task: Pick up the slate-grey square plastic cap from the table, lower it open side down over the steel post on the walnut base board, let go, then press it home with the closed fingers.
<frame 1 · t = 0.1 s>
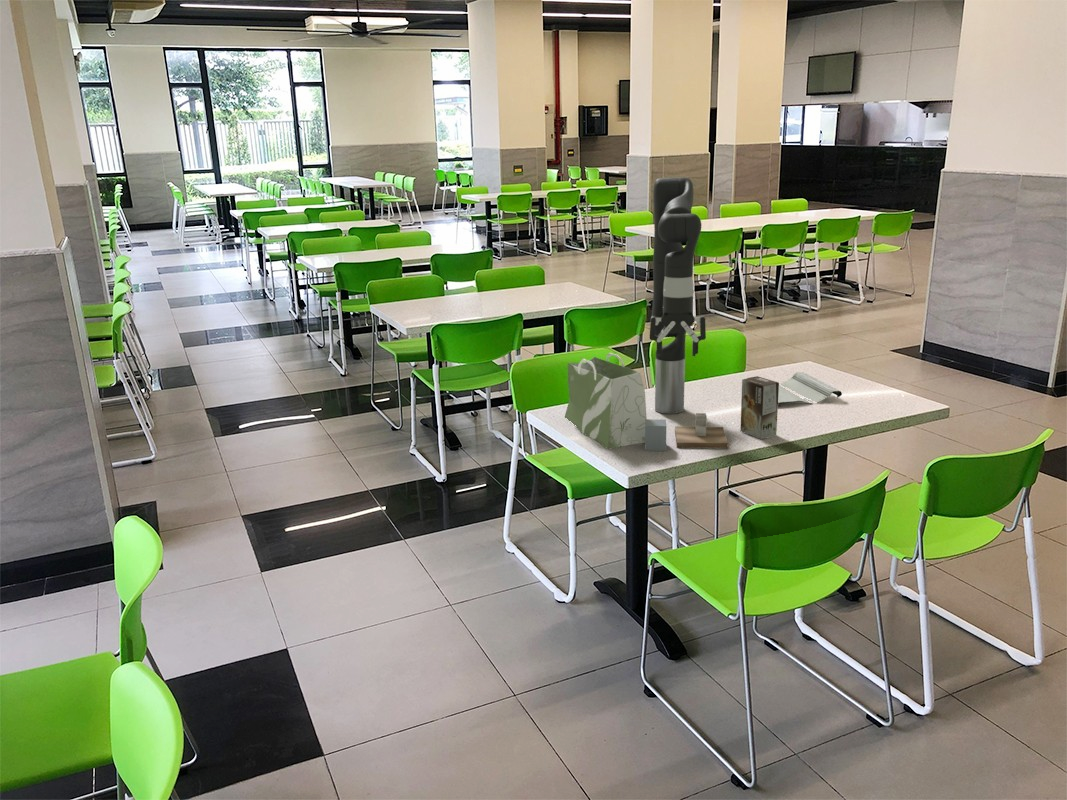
hand: (677, 355, 213), 29 cm above the table, tool pointing down, fingers open, 8 cm apart
coffee box: (758, 434, 240), on the table
mat: (790, 396, 276), on the table
post stand: (700, 439, 237), on the table
grocery bag: (602, 430, 248), on the table
cap: (655, 447, 232), on the table
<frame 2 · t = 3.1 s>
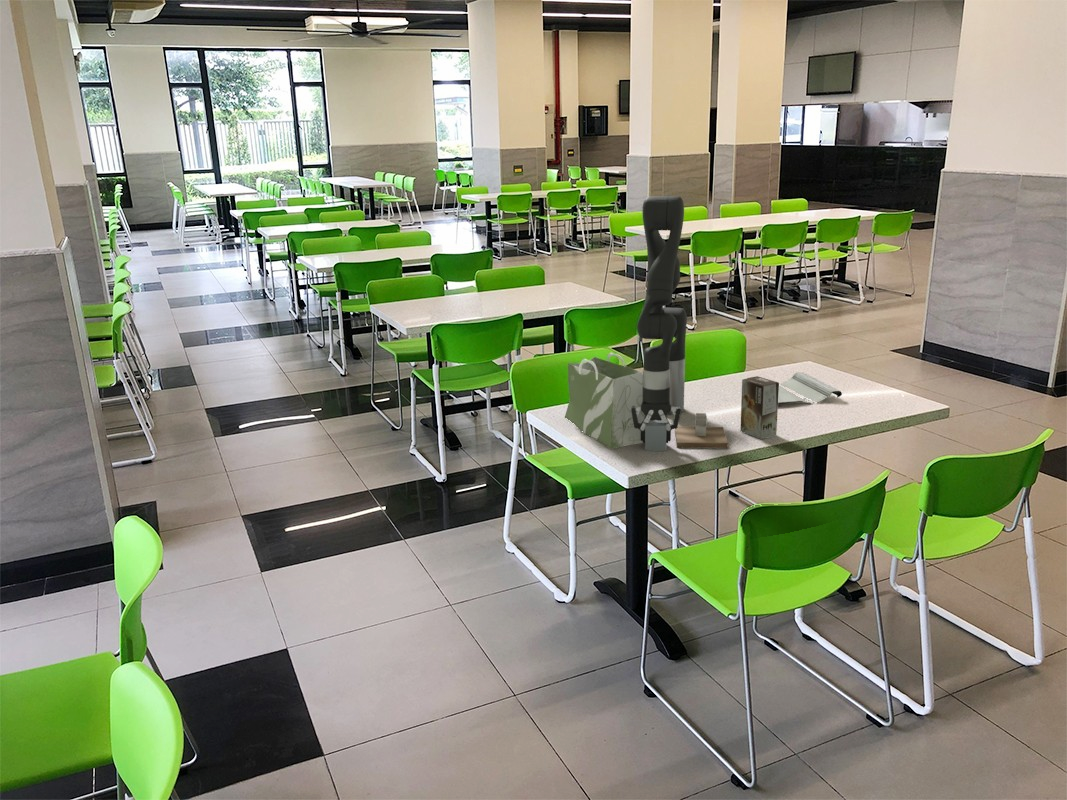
hand: (655, 441, 231), 2 cm above the table, tool pointing down, fingers closed on cap, 5 cm apart
cap: (655, 447, 232), on the table, touching gripper
everything else where it was.
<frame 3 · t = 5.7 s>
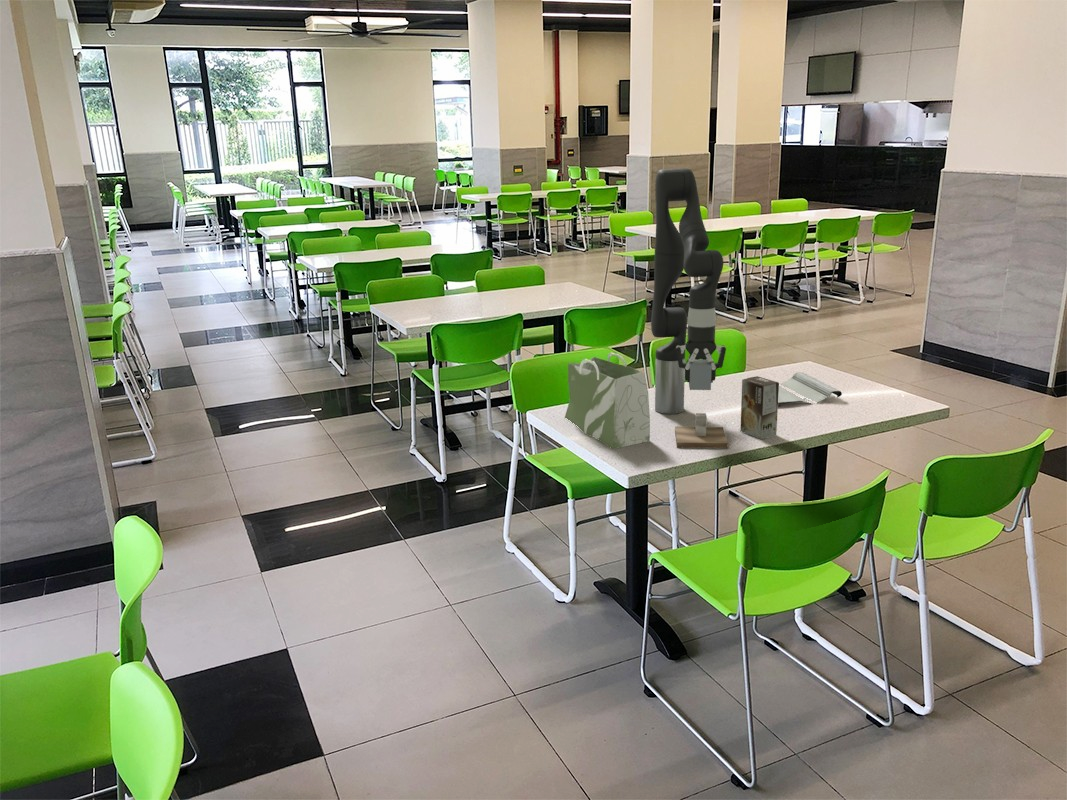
hand: (699, 381, 231), 17 cm above the table, tool pointing down, fingers closed on cap, 5 cm apart
cap: (699, 387, 232), point 16 cm above the table, touching gripper
everything else where it was.
when the fingers open (5 cm above the table, at t = 8.5 s): cap drops 2 cm, resting on post stand.
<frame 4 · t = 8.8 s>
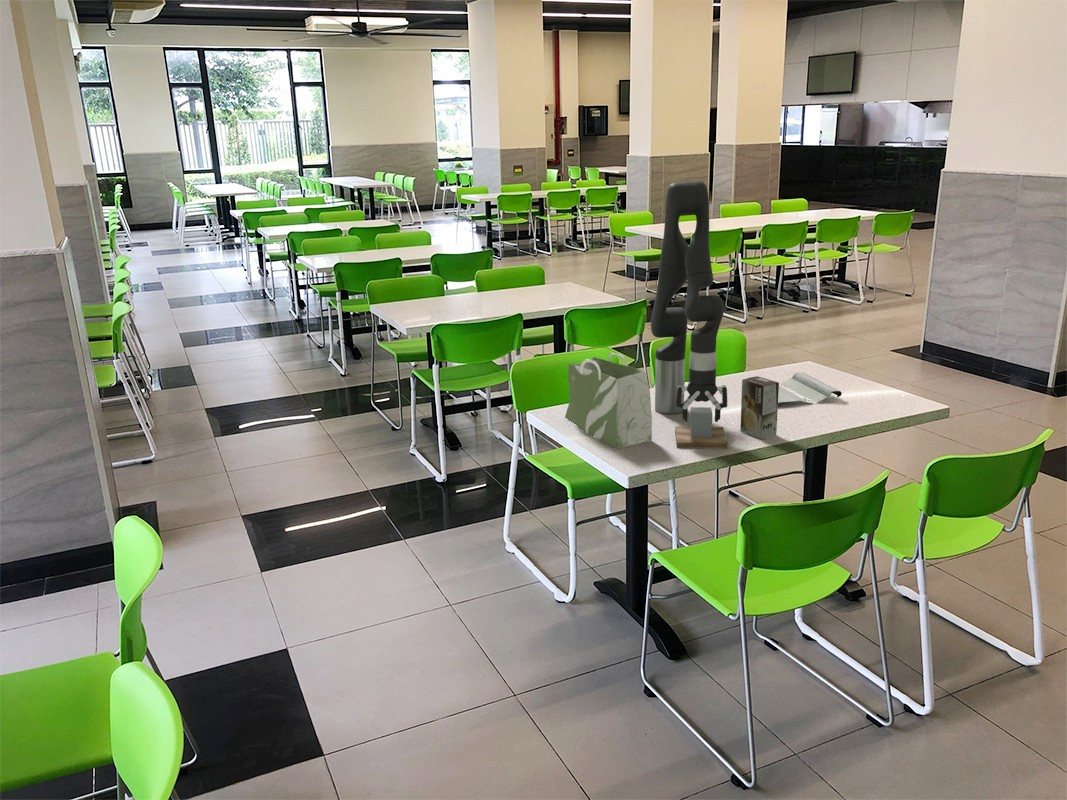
hand: (701, 421, 235), 6 cm above the table, tool pointing down, fingers open, 8 cm apart
cap: (700, 434, 236), point 1 cm above the table, touching post stand
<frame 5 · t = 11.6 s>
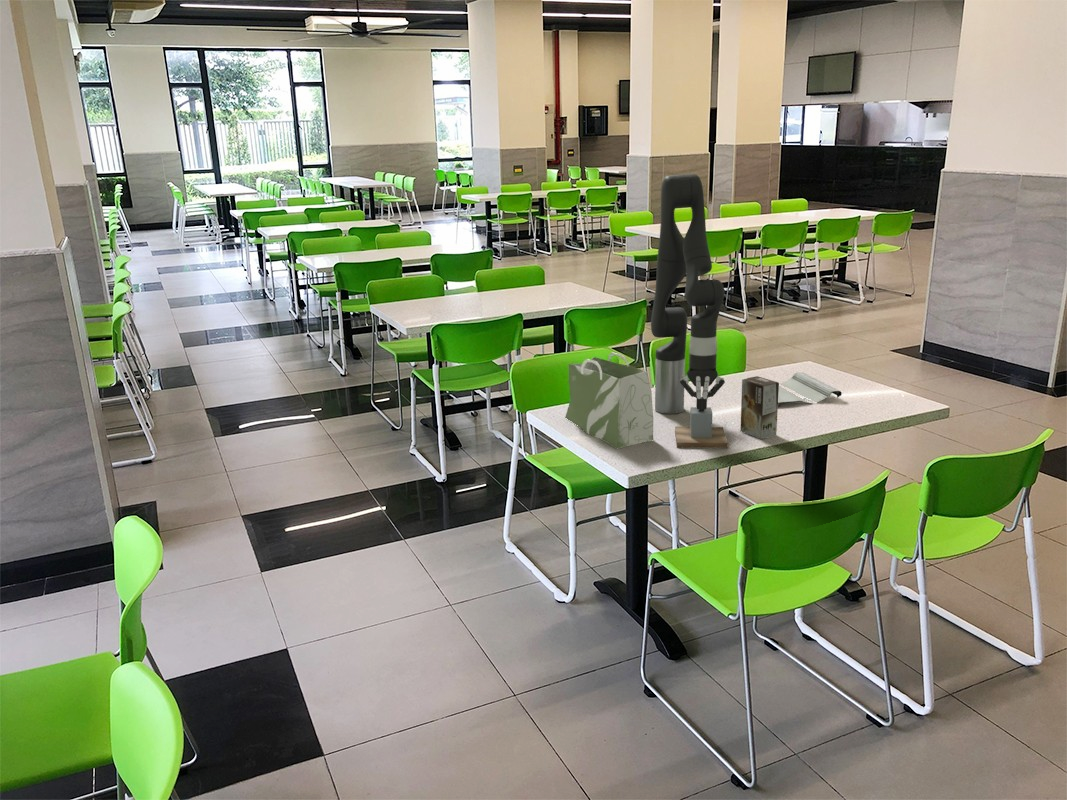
hand: (701, 410, 234), 9 cm above the table, tool pointing down, fingers closed
cap: (700, 434, 236), point 1 cm above the table, touching gripper, post stand
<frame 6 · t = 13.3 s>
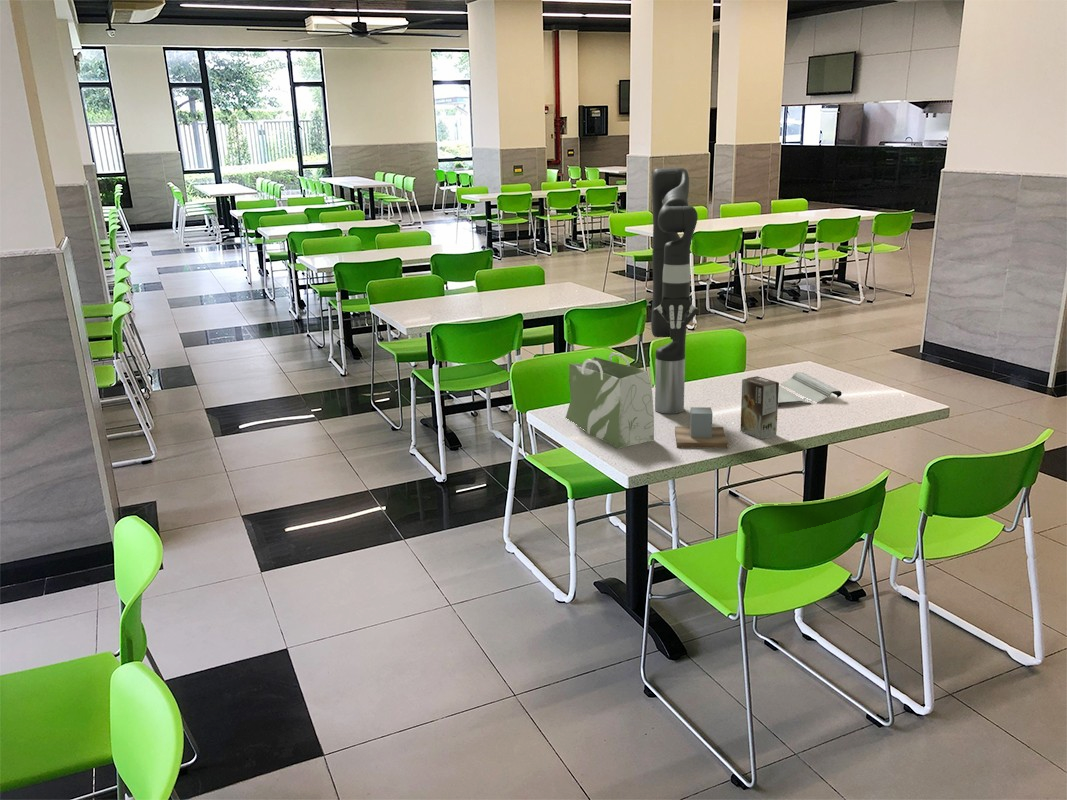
hand: (675, 340, 232), 29 cm above the table, tool pointing down, fingers closed
cap: (700, 434, 236), point 1 cm above the table, touching post stand
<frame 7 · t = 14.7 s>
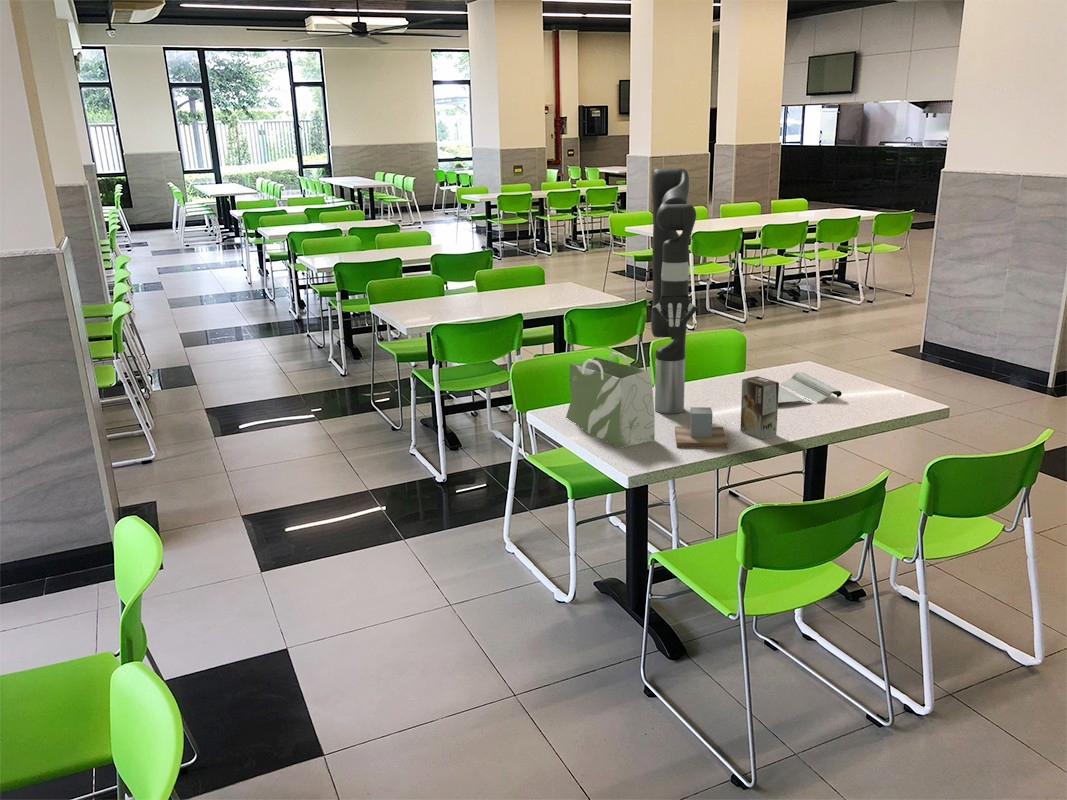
hand: (673, 339, 232), 29 cm above the table, tool pointing down, fingers closed
at the end: cap 0.0 cm from the post stand (horizontally); cap point 1.5 cm above the table; cap tilted 0° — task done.
